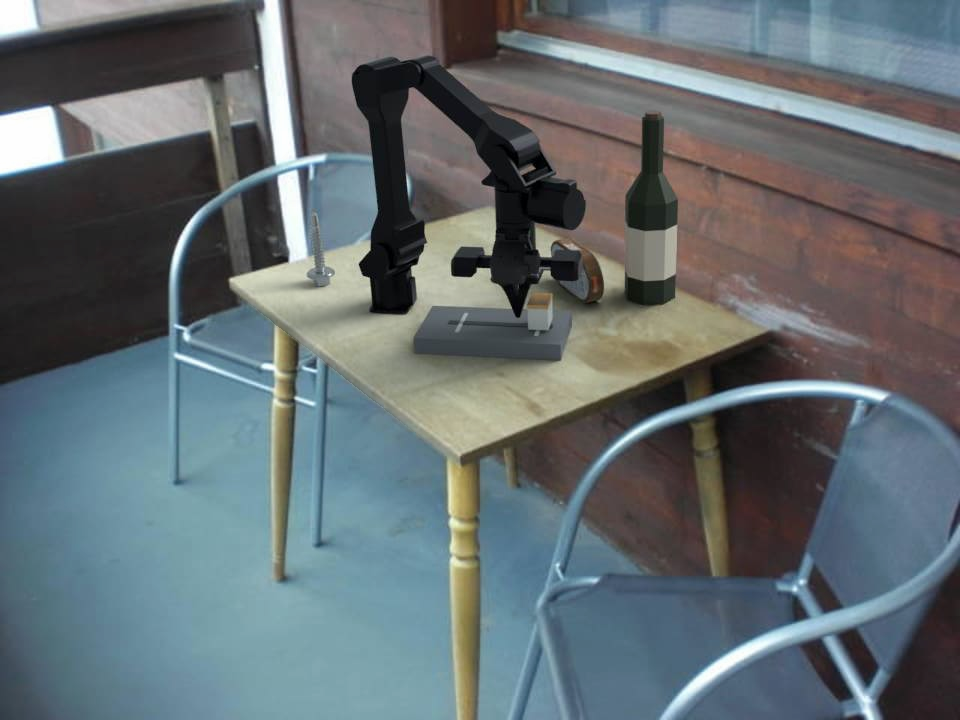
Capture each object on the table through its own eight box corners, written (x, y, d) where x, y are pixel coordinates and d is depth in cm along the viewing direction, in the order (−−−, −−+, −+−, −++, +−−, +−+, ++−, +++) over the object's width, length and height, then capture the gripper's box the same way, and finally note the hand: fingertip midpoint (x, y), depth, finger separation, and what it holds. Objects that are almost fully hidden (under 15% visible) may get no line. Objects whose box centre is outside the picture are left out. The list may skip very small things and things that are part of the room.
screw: (317, 291, 195) (302, 283, 198) (341, 283, 197) (326, 276, 201) (308, 218, 189) (293, 212, 192) (333, 211, 191) (318, 205, 195)
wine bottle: (641, 309, 181) (644, 122, 168) (614, 291, 188) (615, 110, 175) (685, 298, 184) (692, 114, 171) (657, 281, 191) (661, 102, 178)
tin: (605, 307, 183) (605, 258, 179) (588, 311, 182) (587, 262, 178) (565, 276, 196) (564, 229, 192) (548, 279, 195) (547, 232, 191)
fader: (527, 329, 170) (526, 304, 168) (532, 317, 174) (531, 292, 172) (548, 330, 169) (547, 305, 167) (552, 318, 173) (552, 293, 171)
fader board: (414, 353, 171) (413, 337, 170) (433, 320, 182) (432, 305, 180) (560, 360, 167) (560, 343, 166) (571, 325, 177) (571, 310, 176)
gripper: (439, 234, 160) (445, 336, 166) (572, 239, 156) (573, 342, 163) (456, 209, 169) (462, 306, 176) (582, 212, 165) (583, 311, 172)
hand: (518, 316), depth 172 cm, fingers closed
